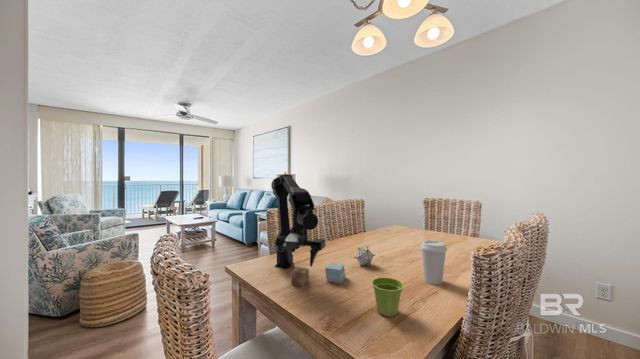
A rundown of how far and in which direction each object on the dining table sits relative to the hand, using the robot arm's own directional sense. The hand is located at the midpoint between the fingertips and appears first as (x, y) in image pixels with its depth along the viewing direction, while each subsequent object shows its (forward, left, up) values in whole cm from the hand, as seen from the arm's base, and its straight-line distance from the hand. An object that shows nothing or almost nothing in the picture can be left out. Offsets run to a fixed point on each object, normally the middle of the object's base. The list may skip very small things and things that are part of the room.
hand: (300, 264), depth 96 cm
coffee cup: (+48, +19, -7) cm, 52 cm away
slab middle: (+12, +8, -6) cm, 15 cm away
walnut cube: (0, 0, -7) cm, 7 cm away
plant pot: (+33, -9, -7) cm, 35 cm away
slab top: (+12, +8, -4) cm, 14 cm away
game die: (+20, +27, -7) cm, 34 cm away
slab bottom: (+12, +8, -8) cm, 16 cm away
